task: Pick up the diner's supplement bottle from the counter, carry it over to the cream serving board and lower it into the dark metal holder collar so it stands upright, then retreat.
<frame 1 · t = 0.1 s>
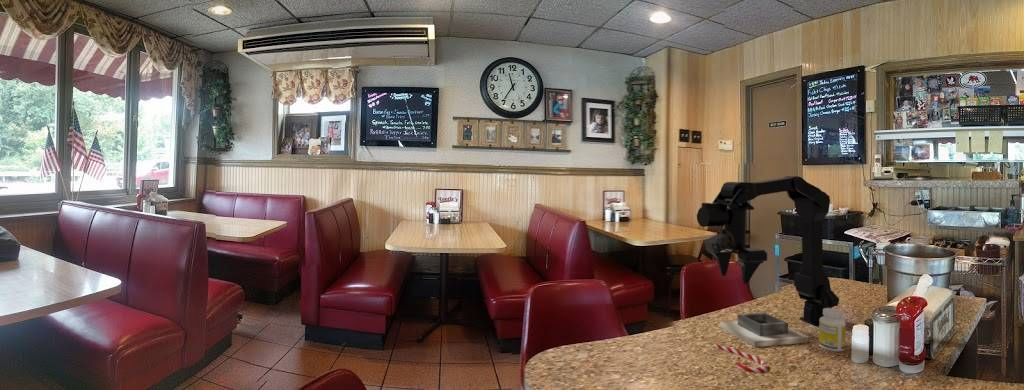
hand: (734, 279, 120), 15 cm above the counter, fingers open, 9 cm apart
holder board: (761, 334, 117), on the counter
supplement bottle: (831, 348, 108), on the counter
candy cane: (736, 361, 103), on the counter
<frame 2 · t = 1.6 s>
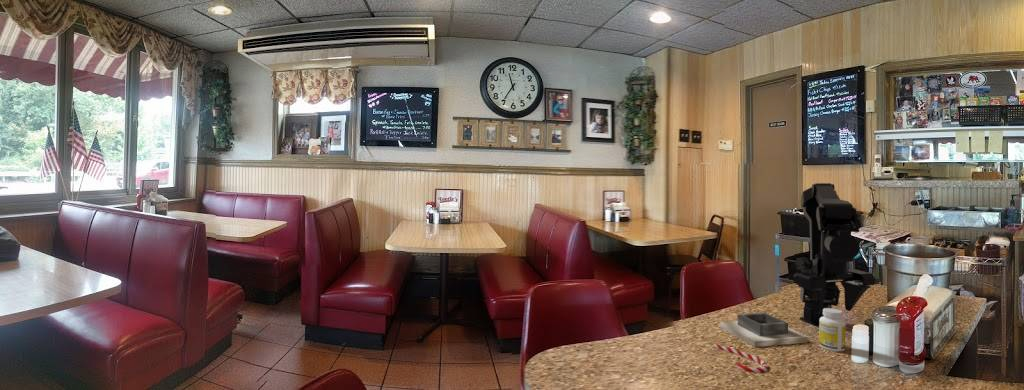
hand: (832, 311, 108), 9 cm above the counter, fingers open, 9 cm apart
nothing on the counter moved.
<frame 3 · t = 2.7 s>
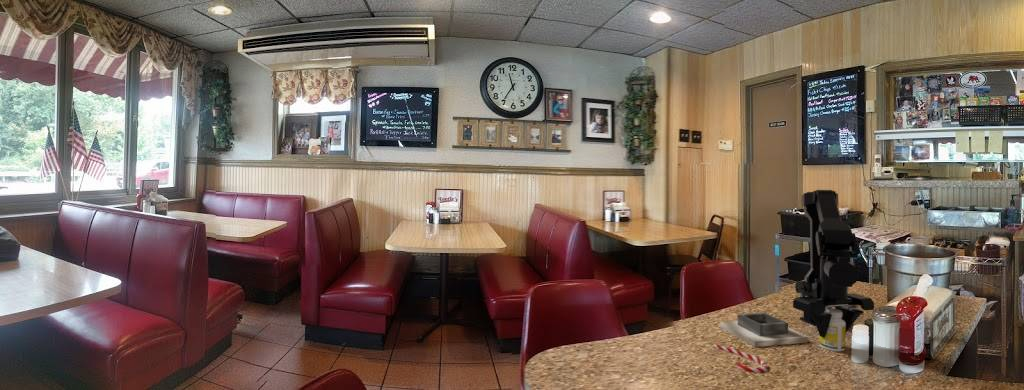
hand: (832, 336, 108), 3 cm above the counter, fingers closed on supplement bottle, 5 cm apart
supplement bottle: (831, 348, 108), on the counter, touching gripper
everything else where it was.
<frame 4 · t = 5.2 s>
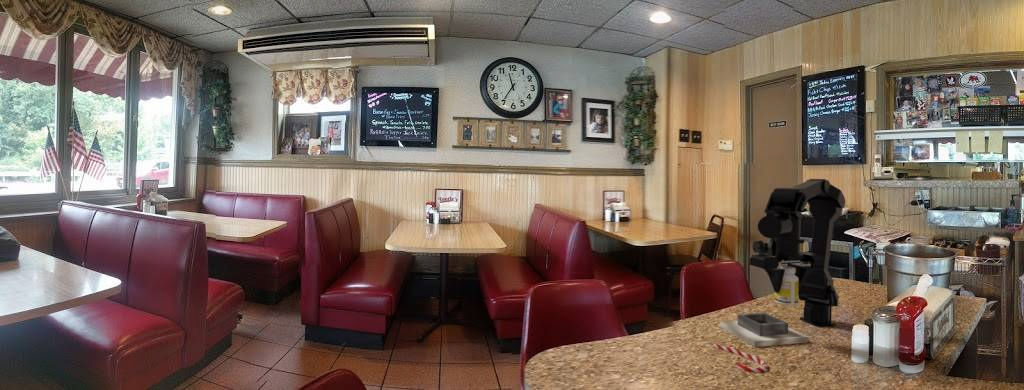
hand: (785, 291, 113), 13 cm above the counter, fingers closed on supplement bottle, 5 cm apart
supplement bottle: (786, 303, 113), point 10 cm above the counter, touching gripper
everything else where it was.
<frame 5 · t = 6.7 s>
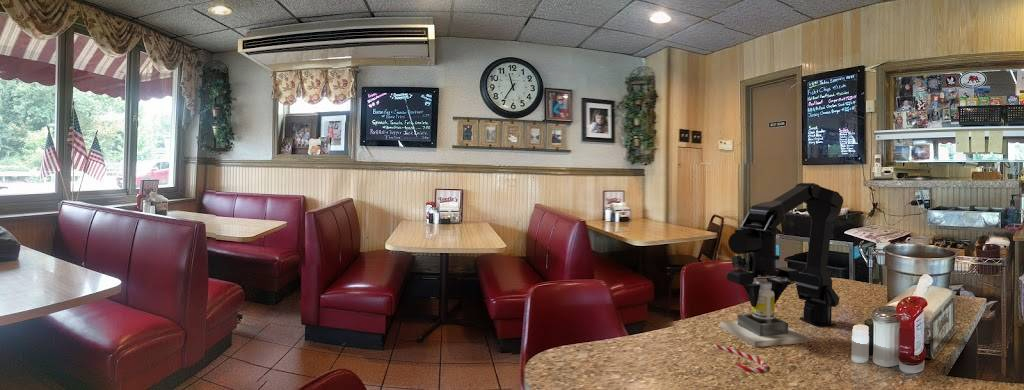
hand: (762, 306, 117), 8 cm above the counter, fingers closed on supplement bottle, 5 cm apart
supplement bottle: (762, 317, 117), point 5 cm above the counter, touching gripper
everything else where it was.
when the fingers open (5 cm above the counter, at t = 7.8 s): supplement bottle stays where it is, resting on holder board.
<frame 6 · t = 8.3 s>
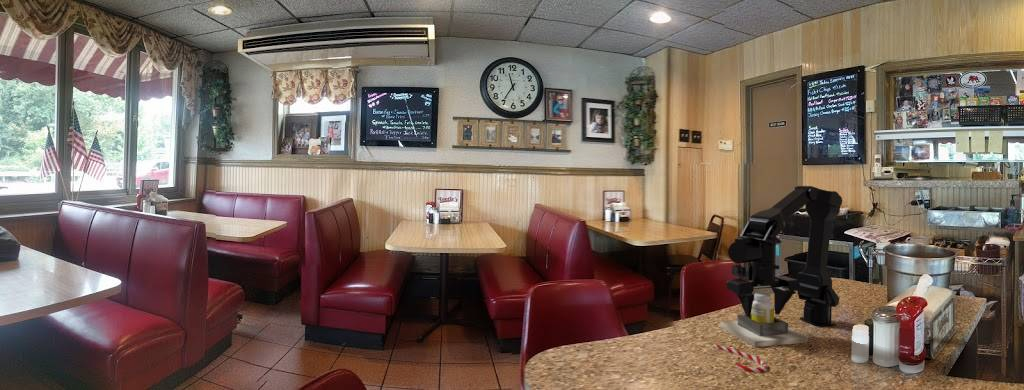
hand: (762, 315, 117), 5 cm above the counter, fingers open, 9 cm apart
supplement bottle: (762, 329, 117), point 1 cm above the counter, touching holder board
everything else where it was.
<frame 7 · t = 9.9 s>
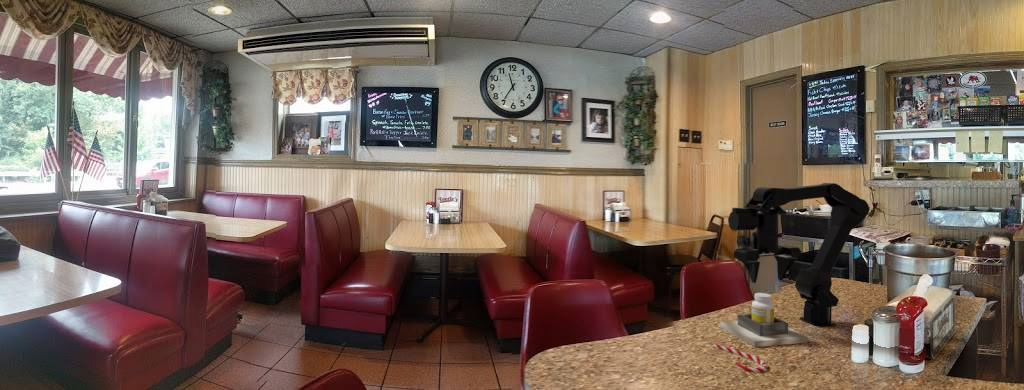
hand: (767, 281, 125), 13 cm above the counter, fingers open, 9 cm apart
nothing on the counter moved.
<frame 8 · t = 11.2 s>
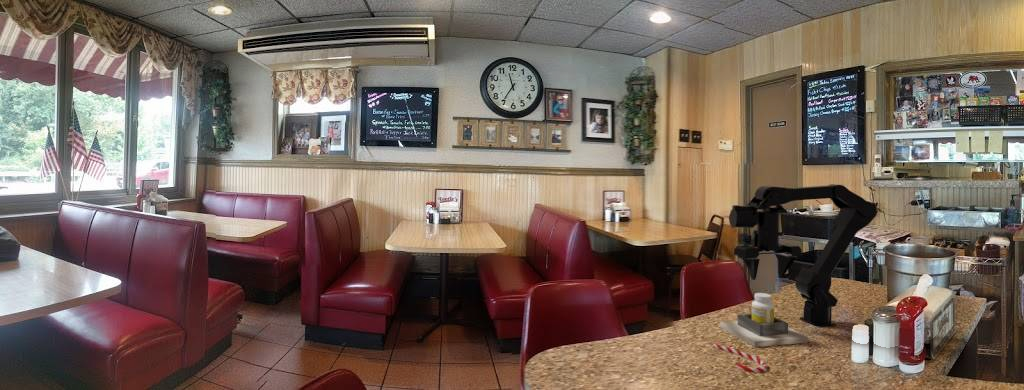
hand: (766, 278, 127), 13 cm above the counter, fingers open, 9 cm apart
nothing on the counter moved.
at the end: supplement bottle 0.1 cm off-centre on the holder board, point 1.3 cm above the holder board's base; supplement bottle tilted 0°; the gripper is holding nothing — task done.
